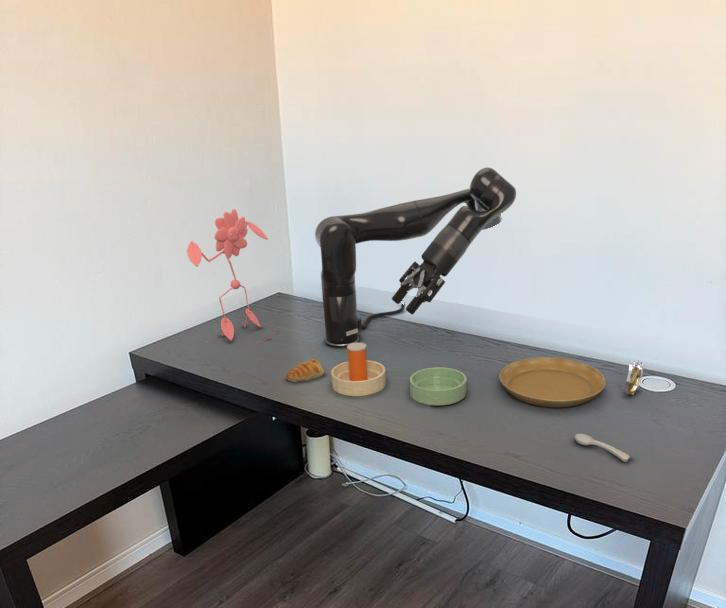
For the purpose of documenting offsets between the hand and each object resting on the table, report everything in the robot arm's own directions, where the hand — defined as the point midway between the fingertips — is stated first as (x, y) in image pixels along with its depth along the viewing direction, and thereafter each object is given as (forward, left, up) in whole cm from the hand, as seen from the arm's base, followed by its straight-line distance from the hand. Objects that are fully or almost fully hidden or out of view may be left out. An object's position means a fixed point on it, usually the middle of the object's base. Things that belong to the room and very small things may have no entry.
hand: (401, 306), depth 162 cm
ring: (-3, +54, -18) cm, 57 cm away
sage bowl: (+8, +11, -18) cm, 23 cm away
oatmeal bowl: (+8, -9, -18) cm, 22 cm away
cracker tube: (+8, -9, -18) cm, 21 cm away
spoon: (+24, +49, -18) cm, 58 cm away
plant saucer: (-1, +36, -18) cm, 40 cm away
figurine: (-17, -53, -18) cm, 59 cm away
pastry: (+6, -24, -18) cm, 31 cm away
